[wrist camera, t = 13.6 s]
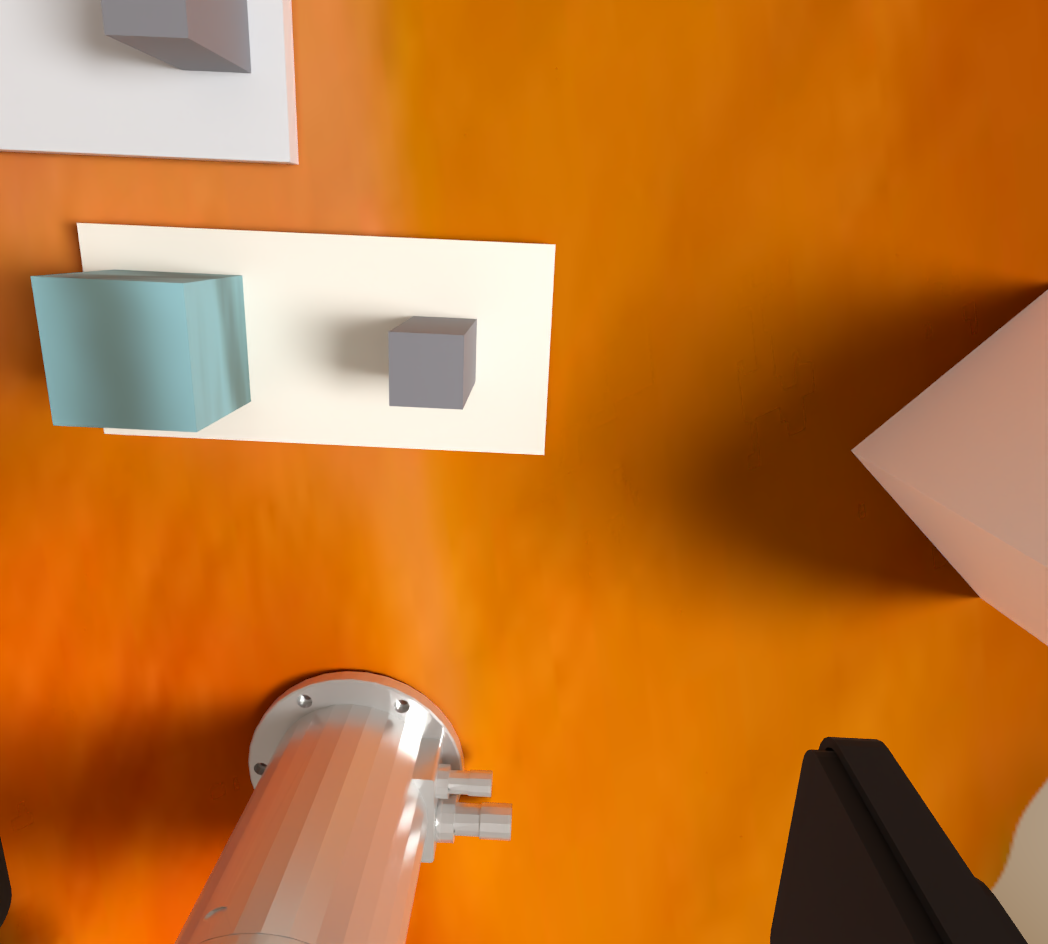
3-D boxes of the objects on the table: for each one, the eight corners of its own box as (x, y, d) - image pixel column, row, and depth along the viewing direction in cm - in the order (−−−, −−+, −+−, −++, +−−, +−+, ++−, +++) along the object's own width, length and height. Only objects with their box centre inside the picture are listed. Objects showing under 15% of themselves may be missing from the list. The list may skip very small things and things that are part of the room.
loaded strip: (554, 244, 35) (557, 246, 28) (544, 448, 38) (544, 494, 31) (91, 223, 35) (-17, 220, 29) (117, 427, 38) (25, 469, 32)
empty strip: (287, -92, 31) (215, -183, 25) (298, 164, 34) (237, 147, 28) (-137, -110, 32) (-326, -205, 25) (-89, 147, 35) (-245, 125, 28)
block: (242, 275, 35) (183, 283, 29) (250, 401, 37) (196, 432, 31) (114, 269, 35) (30, 276, 29) (129, 395, 37) (52, 425, 31)
